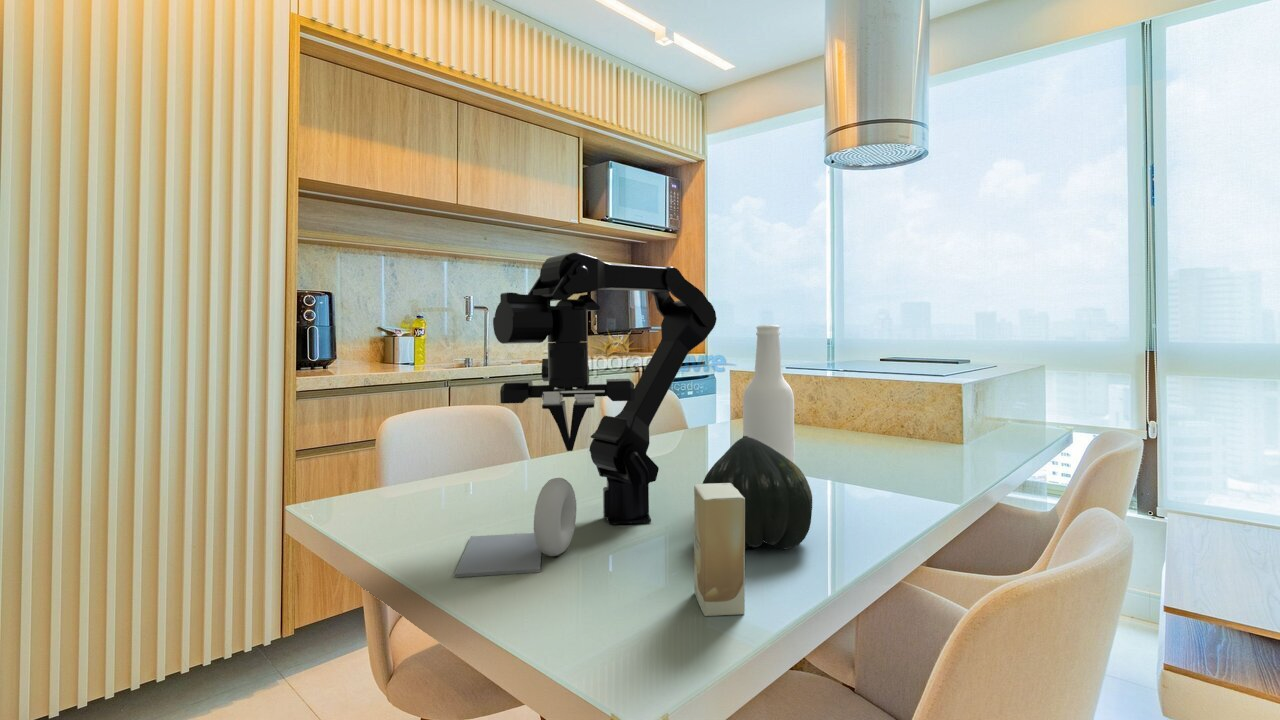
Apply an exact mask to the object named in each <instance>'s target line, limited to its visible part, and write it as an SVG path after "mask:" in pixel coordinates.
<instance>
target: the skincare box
mask: <svg viewBox="0 0 1280 720" xmlns="http://www.w3.org/2000/svg"><path fill="white" fill-rule="evenodd" d="M693 488H694V489H693V491H694V492H693V495H694V501H693V502H694V503H693V504H694V505H693V508H694V511H693V512H694V514H693V515H694V519H693V520H694V522H693V523H694V524H693V525H694V533H693V534H694V538H693V539H694V543H693V546H694V547H693V549H694V550H693V551H694V562H693V563H694V565H693V566H694V567H693V569H694V574H693V575H694V578H693V582H694V583H693V584H694V585H693V586H694V588H693V589H694V595H695V598H696V600H697V603H698V605H699V608H700V609H701V612H702V614H703V615H704V616H705V617H710V616H712V617H714V616H733V615H738V616H739V615H744V614H745V610H746V608H745V600H746V599H745V595H746V594H745V591H746V590H745V585H746V584H745V583H746V582H745V581H746V579H745V578H746V577H745V570H746V568H745V566H746V565H745V564H746V560H745V559H746V556H745V555H746V554H745V553H746V550H745V549H746V548H745V498H744V497H743V496H742V495H741V493H740V492H739V491H738V490H737V489H736V488H735V487H734V486H733V485H732V483H714V484H703V483H698V484H697V483H695V484H694V485H693Z"/></svg>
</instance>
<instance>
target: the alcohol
mask: <svg viewBox="0 0 1280 720" xmlns="http://www.w3.org/2000/svg"><path fill="white" fill-rule="evenodd" d="M755 328H756V331H757V332H756V336H757V337H756V349H755V351H756V352H755V362H754V363H755V366H754V374H753V377H752V379H751V380H750V382H749V383H748V384H747V386H746V387H744V391H743V396H742V437H743V436H748V437H749V438H753V439H756V440H758V441H760V442H762V443H764V444H766V445H767V446H769V447H771V448H772V449H774V450H775V451H777V452H779V453H780V454H782V455H783V456H785V457H786V458H787V459H789V460H790V461H792V462H793V463H794V464H795V396H794V392H793V389H792V387H791V386H790V385H789V383H788V381H786V379H785V378H784V374H783V369H782V356H781V345H780V336H781V335H780V334H781V333H780V328H781V327H780V325H778V324H760V325H757V326H756V327H755Z"/></svg>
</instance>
